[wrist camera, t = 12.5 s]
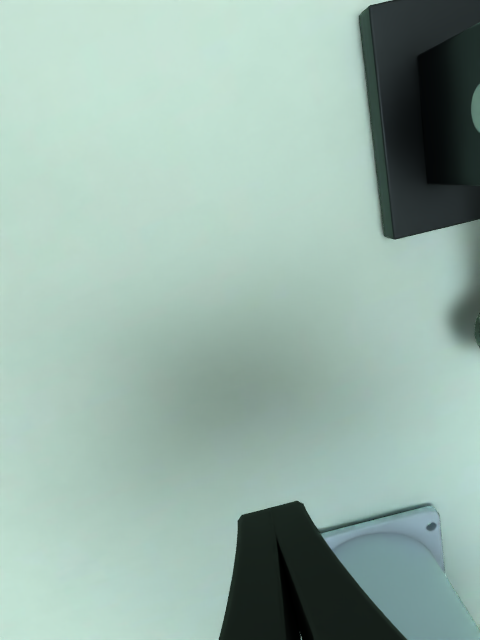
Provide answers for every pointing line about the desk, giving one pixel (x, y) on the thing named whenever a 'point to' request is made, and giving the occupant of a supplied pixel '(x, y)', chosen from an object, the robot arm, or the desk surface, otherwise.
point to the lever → (477, 330)
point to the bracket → (424, 111)
